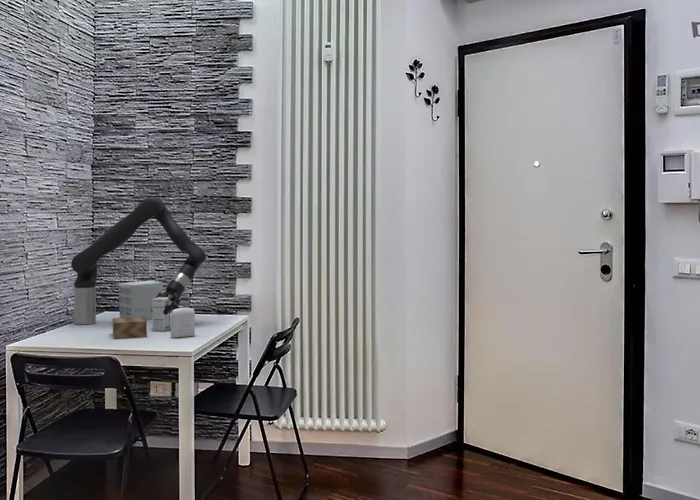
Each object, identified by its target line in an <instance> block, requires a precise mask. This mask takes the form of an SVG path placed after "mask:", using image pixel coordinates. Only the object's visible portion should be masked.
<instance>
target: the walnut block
mask: <svg viewBox="0 0 700 500" xmlns="http://www.w3.org/2000/svg"><path fill="white" fill-rule="evenodd" d="M147 323H148V320H146V319H145V318H144V317H132V318H120V317H118V318H116V317H115V318H112V336H113V340H120V339H121V340H122V339H123V340H125V339H138V338H147V337H148V331H147V330H148V329H147V326H148V325H147Z"/></svg>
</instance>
